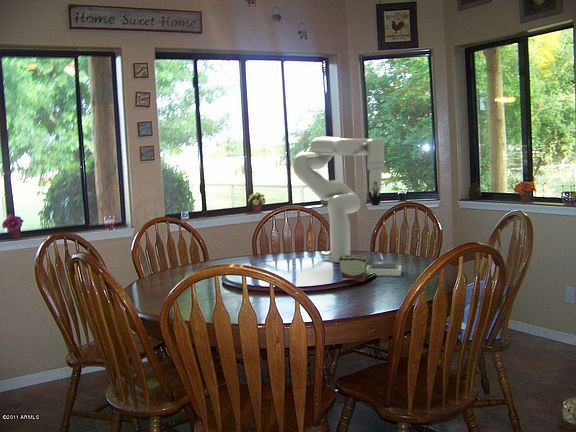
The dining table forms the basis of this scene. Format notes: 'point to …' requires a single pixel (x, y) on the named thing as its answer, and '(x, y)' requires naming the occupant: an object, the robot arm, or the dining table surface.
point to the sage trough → (384, 271)
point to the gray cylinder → (384, 265)
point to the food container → (353, 266)
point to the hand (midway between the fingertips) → (376, 204)
